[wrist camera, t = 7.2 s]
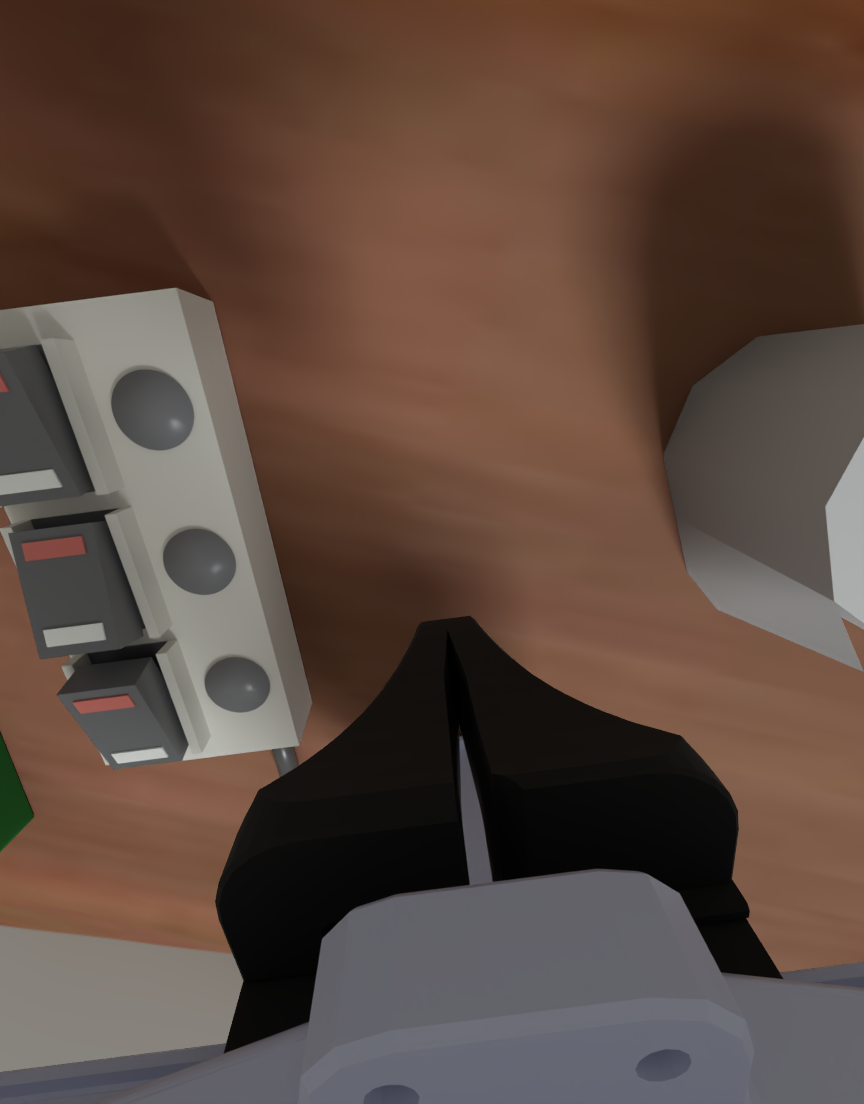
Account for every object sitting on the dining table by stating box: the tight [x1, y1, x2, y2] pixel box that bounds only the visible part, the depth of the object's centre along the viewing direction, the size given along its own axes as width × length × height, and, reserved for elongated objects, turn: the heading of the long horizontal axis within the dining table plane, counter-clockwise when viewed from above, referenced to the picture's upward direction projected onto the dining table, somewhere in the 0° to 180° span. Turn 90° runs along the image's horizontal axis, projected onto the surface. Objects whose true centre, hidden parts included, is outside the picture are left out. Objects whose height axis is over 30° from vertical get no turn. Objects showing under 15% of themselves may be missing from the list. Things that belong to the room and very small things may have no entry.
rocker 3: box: [57, 657, 189, 769], centre depth 19 cm, size 4×3×2 cm, turn 7°
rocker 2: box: [8, 521, 144, 659], centre depth 17 cm, size 4×3×2 cm, turn 7°
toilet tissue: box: [663, 324, 864, 672], centre depth 17 cm, size 9×13×9 cm
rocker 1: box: [0, 345, 94, 506], centre depth 15 cm, size 4×3×2 cm, turn 7°
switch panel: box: [0, 288, 312, 777], centre depth 20 cm, size 22×8×4 cm, turn 7°
